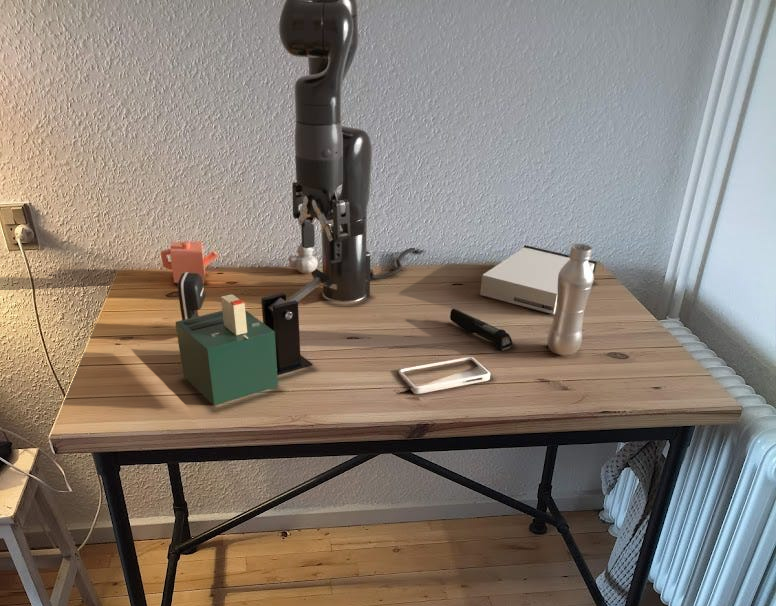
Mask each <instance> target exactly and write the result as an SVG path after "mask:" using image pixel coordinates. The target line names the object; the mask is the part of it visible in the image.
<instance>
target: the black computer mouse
mask: <svg viewBox="0 0 776 606" xmlns="http://www.w3.org/2000/svg"><path fill="white" fill-rule="evenodd" d="M203 282H204V281H203V279H202V277H201V275H200V274H198V273H188V272H186V273H183V274H182V275H181V277H180V279H179V281H178V282H177V283H178V284H177V294H178V301H179V308H180V315H181V320H185V319H190V318H194V317H198V316H200V315H199V313H198V311H200V310H201V309H202V308H203V304H204V302H205V298H206V290H205V285H204V283H203Z"/></svg>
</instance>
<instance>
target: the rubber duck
mask: <svg viewBox="0 0 776 606" xmlns="http://www.w3.org/2000/svg"><path fill="white" fill-rule="evenodd" d="M296 249H297V250H296V253H297V254H298V255H293V254H292V255H289V256H288V262H289V268H291V269H296V270H297V271H298V272H300V273H301V274H311V272H313V271H314V270H315V269H317V268H318V265H319V263H318V259H317V257H315V256H314V255H313V254H314V250H315V249H314V247H311V248H304V247H302V242H300V243H299V245H298V246H297V248H296Z"/></svg>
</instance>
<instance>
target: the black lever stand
mask: <svg viewBox="0 0 776 606" xmlns="http://www.w3.org/2000/svg"><path fill="white" fill-rule="evenodd" d="M279 298H282V299H283V300H285V301H286V300H287V294H286V293H285V292H279V293H275V294H271V295H266V296H263V297H261V298H260V301H261V314H262V315H261V316H262V323H264V324H265V325H266V326H268V327H269V328H270V329H272V330H273V331H274V332H275V347H276V362H277V377H279V376H281V375H284V374H288V373H291V372H295V371H298V370H301V369H304V368H309V367H311V366H313V363H312V362H311V361H309V360H308V359H307V358H305V356H303V355H302V354H301V339H300V338H301V337H300V318H299V317H300V316H299V313H300V312H299V301H298V302H297V301H295V300H294V301H290V302H286V303H282V304H278V305H274V306H273V316H272V314H271V312H270V310H269V308H268V307H269V306H270V305H271V304H273V303H274V302H275V301H277V300H278V299H279Z"/></svg>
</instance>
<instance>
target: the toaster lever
mask: <svg viewBox="0 0 776 606" xmlns="http://www.w3.org/2000/svg"><path fill="white" fill-rule="evenodd" d="M310 274H311V276H312V278H313V279H312V280H310V282H307V284H306V285H304V286H303V287H301V288H300V289H299V290H298V291H296V292H295V293H294V294H292V295H291V296H289V297H288V298H286V301H285V300H283V299H282V298H279V299H278V300H277V301H275V302H274V303H273V304H271V305H270V306H269V307H268V308H269V310H270V312H271V314H272V316H273V306H274V305H278V304H282V303H286V302H290V301H294V300H295V301H297V302H298V303H299V302H300V301H301V300H302V299H303V298H305V297H306V296H308V295H309V294H310V293H312V292H313V291H314V290H316V289H317V288H319V286H321V285H323V284H324V285H326V286H327V287H330V286H331V285H332V284H334V282H333V280H332V278H331V277H329V276H328V275H326V274H324V273H322V270H319V269H317V268H316V269H315V270H314V271H313V272H311V273H310Z"/></svg>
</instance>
